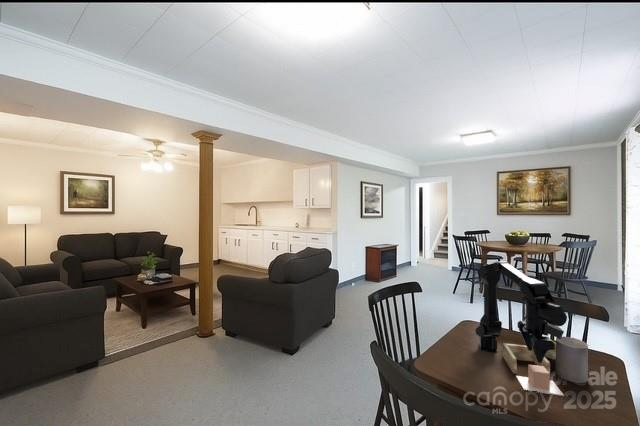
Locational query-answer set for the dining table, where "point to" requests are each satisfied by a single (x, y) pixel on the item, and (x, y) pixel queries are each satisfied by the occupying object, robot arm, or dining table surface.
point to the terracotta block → (539, 377)
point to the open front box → (521, 356)
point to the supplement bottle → (551, 352)
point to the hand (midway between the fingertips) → (534, 356)
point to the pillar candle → (572, 359)
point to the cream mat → (529, 387)
